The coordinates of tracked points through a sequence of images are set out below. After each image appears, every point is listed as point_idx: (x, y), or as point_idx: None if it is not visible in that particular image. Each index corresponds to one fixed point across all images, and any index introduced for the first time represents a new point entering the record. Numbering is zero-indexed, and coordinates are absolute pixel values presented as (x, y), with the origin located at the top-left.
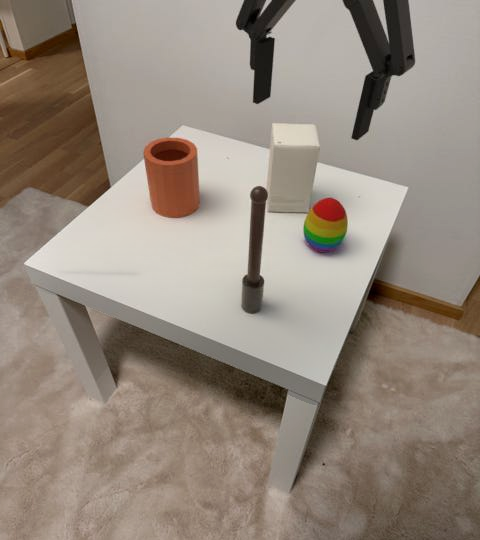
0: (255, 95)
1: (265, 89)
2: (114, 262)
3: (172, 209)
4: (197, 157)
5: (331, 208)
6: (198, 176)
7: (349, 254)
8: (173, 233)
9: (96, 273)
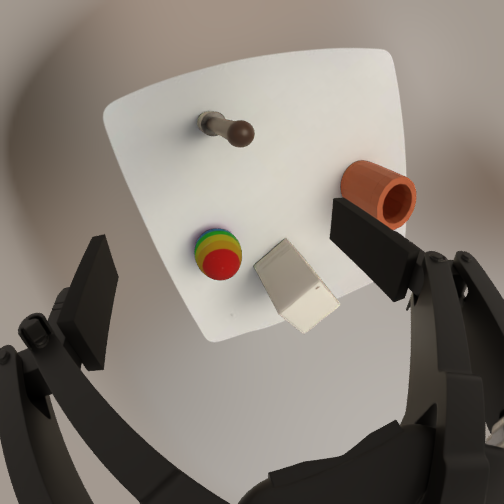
0: (347, 203)
1: (342, 230)
2: (348, 83)
3: (355, 168)
4: None
5: (216, 264)
6: None
7: (184, 250)
8: (336, 147)
9: (349, 64)
